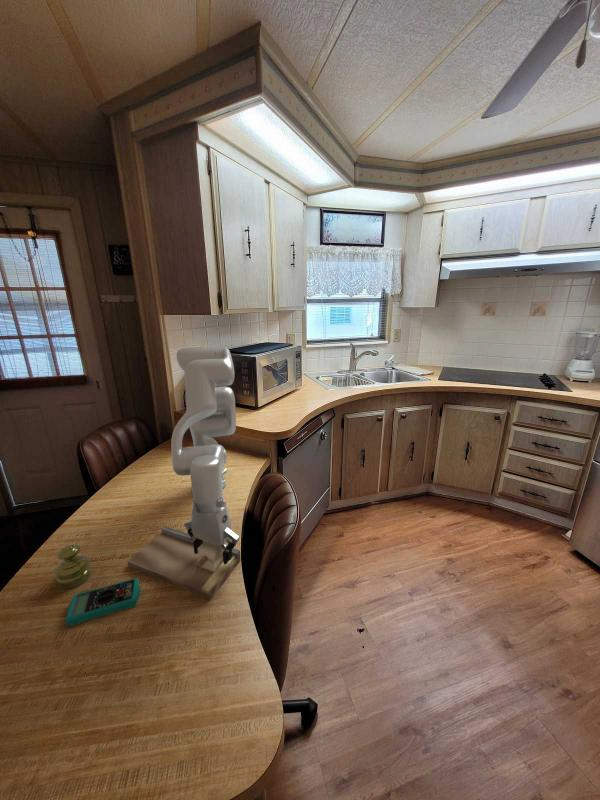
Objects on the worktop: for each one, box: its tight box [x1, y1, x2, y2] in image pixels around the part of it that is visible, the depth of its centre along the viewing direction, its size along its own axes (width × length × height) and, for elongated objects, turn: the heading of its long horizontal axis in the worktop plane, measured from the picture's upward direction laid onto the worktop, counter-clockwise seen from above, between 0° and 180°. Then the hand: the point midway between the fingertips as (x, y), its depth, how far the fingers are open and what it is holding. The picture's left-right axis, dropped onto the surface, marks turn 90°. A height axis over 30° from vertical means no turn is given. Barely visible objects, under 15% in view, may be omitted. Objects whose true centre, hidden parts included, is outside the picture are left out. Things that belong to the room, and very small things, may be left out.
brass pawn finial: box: [54, 543, 92, 590], centre depth 81 cm, size 7×7×10 cm
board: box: [126, 525, 242, 601], centre depth 87 cm, size 14×28×4 cm, turn 68°
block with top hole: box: [196, 541, 228, 572], centre depth 83 cm, size 9×5×6 cm, turn 159°
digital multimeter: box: [65, 577, 141, 628], centre depth 75 cm, size 7×15×3 cm, turn 112°
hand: (213, 555), depth 85 cm, fingers open, 9 cm apart
